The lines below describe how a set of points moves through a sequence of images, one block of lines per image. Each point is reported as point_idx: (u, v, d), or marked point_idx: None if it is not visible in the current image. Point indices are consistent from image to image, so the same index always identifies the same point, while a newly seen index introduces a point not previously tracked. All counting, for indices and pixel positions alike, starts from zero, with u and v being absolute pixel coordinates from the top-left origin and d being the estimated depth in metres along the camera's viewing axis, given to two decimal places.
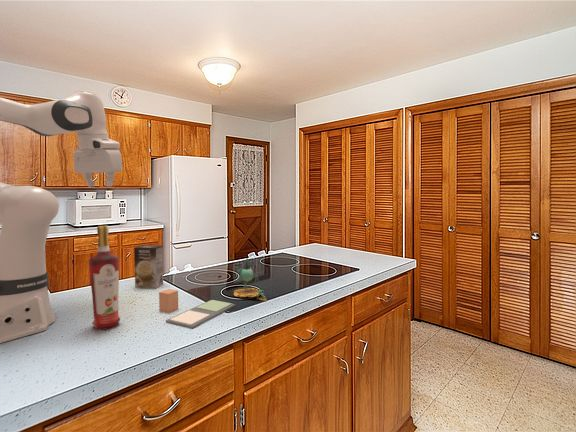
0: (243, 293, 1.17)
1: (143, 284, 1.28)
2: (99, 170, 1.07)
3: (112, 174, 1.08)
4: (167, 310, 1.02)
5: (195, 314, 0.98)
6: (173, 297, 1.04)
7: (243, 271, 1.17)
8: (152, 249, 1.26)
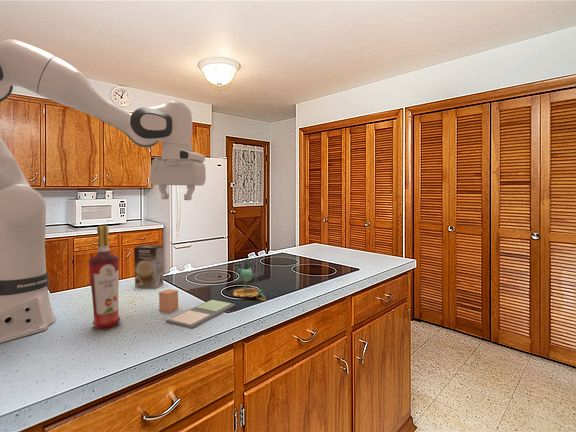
0: (243, 293, 1.17)
1: (143, 284, 1.28)
2: (180, 182, 1.00)
3: (193, 187, 1.01)
4: (167, 310, 1.02)
5: (195, 314, 0.98)
6: (173, 297, 1.04)
7: (243, 271, 1.18)
8: (152, 249, 1.26)
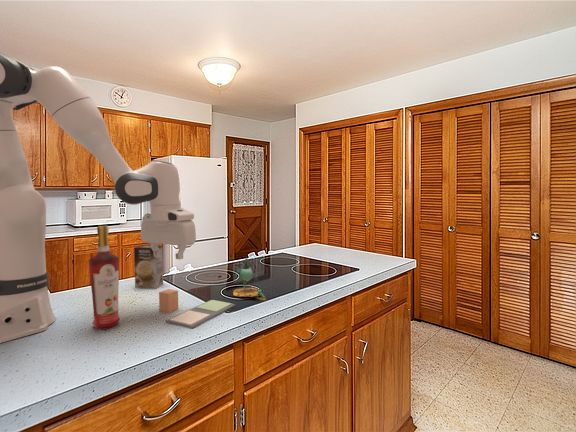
0: (242, 293, 1.17)
1: (143, 284, 1.28)
2: (171, 242, 1.00)
3: (184, 246, 1.00)
4: (167, 310, 1.02)
5: (195, 314, 0.98)
6: (173, 297, 1.04)
7: (242, 271, 1.18)
8: None
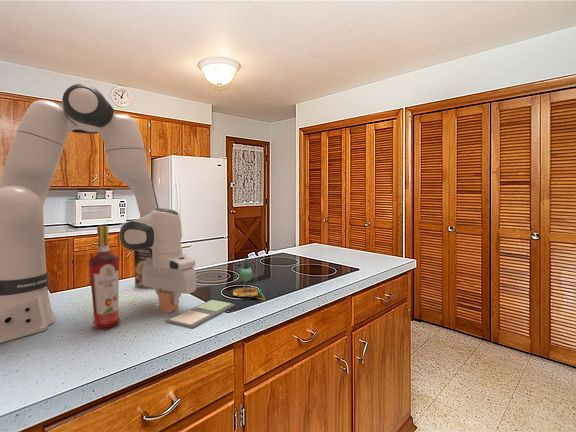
0: (242, 293, 1.18)
1: None
2: (171, 289, 1.01)
3: (179, 292, 1.03)
4: (167, 310, 1.02)
5: (195, 314, 0.98)
6: (173, 297, 1.04)
7: (242, 271, 1.18)
8: None
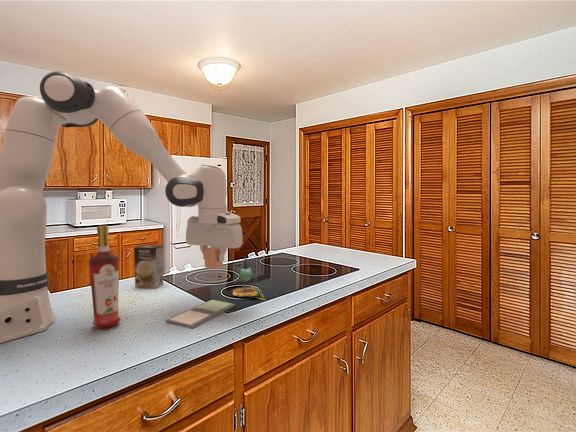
0: (242, 292, 1.18)
1: (143, 284, 1.28)
2: (218, 245, 1.02)
3: (225, 249, 1.03)
4: (213, 266, 1.03)
5: (195, 314, 0.98)
6: (218, 253, 1.04)
7: (242, 271, 1.18)
8: (152, 249, 1.26)
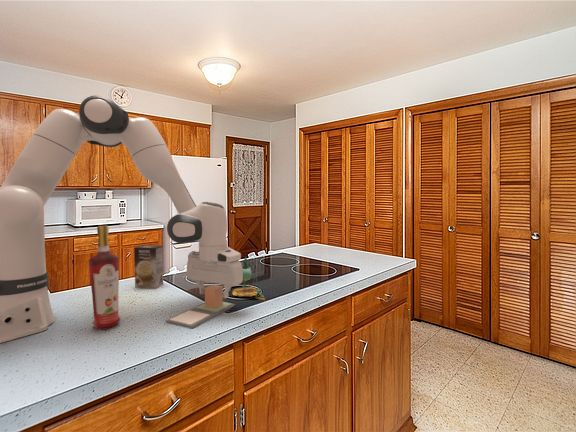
0: (242, 292, 1.18)
1: (143, 284, 1.28)
2: (218, 281, 1.02)
3: (230, 286, 1.03)
4: (213, 305, 1.04)
5: (195, 314, 0.98)
6: (218, 293, 1.05)
7: (242, 270, 1.18)
8: (152, 249, 1.26)
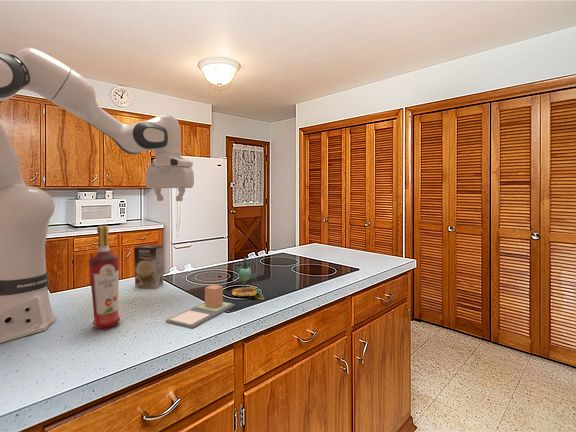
0: (241, 292, 1.18)
1: (143, 284, 1.28)
2: (172, 185, 1.16)
3: (183, 190, 1.16)
4: (213, 305, 1.04)
5: (195, 314, 0.98)
6: (218, 293, 1.05)
7: (241, 270, 1.19)
8: (152, 249, 1.26)
